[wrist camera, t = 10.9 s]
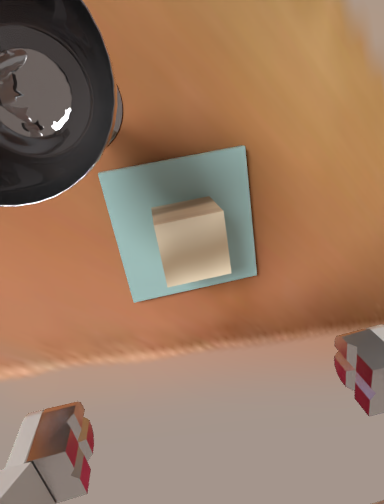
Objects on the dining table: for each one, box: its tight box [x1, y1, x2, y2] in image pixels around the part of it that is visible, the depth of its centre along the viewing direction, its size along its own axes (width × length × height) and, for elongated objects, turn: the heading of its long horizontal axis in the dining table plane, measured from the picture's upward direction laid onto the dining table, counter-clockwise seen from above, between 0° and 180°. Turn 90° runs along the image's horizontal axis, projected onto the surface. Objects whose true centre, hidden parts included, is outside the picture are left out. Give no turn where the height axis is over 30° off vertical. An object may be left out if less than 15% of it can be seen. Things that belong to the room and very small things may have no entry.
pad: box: [98, 145, 257, 303], centre depth 28 cm, size 12×12×1 cm
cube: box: [151, 196, 231, 287], centre depth 25 cm, size 5×5×5 cm
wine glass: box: [0, 0, 123, 207], centre depth 17 cm, size 8×8×15 cm
